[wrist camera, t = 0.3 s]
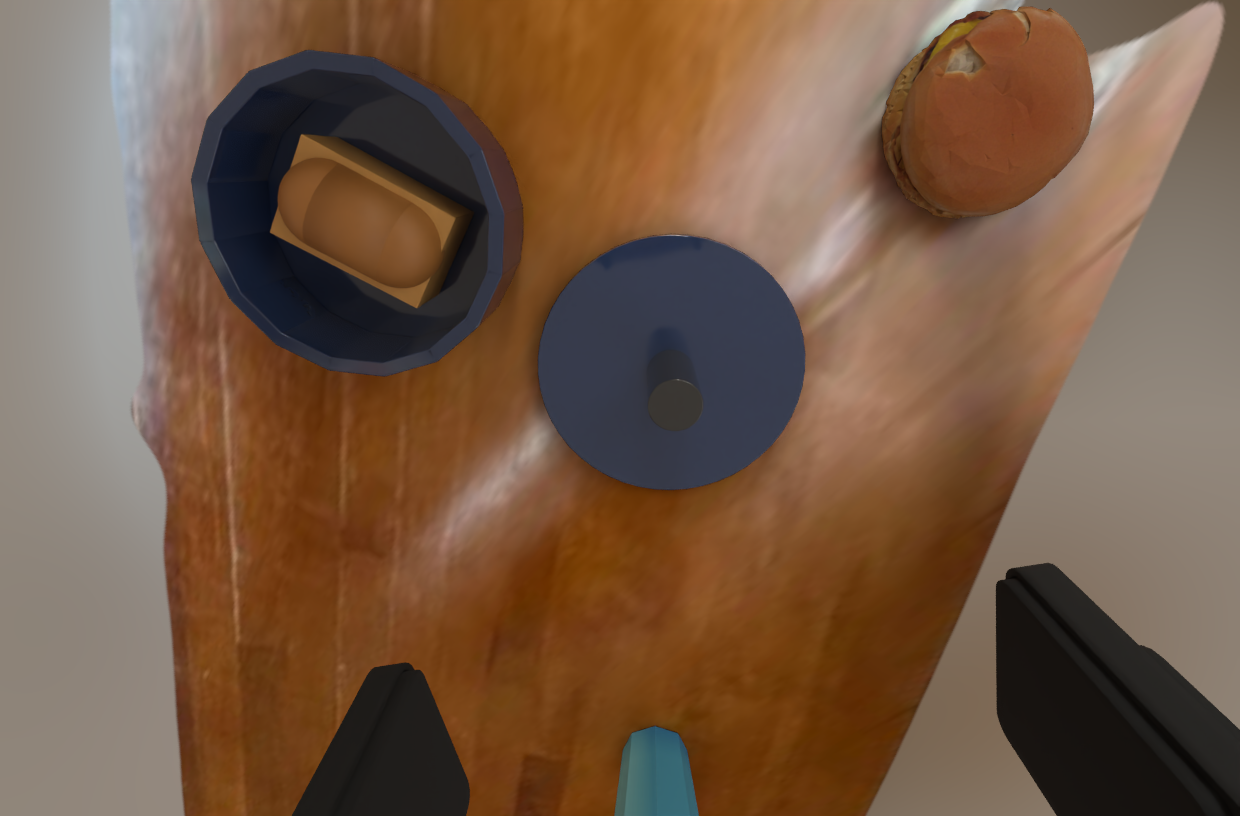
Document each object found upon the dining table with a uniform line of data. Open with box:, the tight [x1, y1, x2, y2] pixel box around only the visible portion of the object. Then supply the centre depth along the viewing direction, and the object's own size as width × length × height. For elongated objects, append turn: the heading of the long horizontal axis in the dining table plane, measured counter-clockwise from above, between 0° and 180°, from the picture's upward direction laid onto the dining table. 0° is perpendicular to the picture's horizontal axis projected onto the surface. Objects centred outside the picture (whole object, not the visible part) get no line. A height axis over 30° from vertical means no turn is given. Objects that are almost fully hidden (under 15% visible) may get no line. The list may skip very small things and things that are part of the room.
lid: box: [538, 234, 805, 490], centre depth 37 cm, size 17×17×7 cm
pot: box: [191, 50, 523, 376], centre depth 34 cm, size 16×16×6 cm
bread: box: [270, 134, 474, 308], centre depth 34 cm, size 9×6×6 cm, turn 61°
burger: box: [882, 7, 1094, 219], centre depth 32 cm, size 10×9×5 cm
